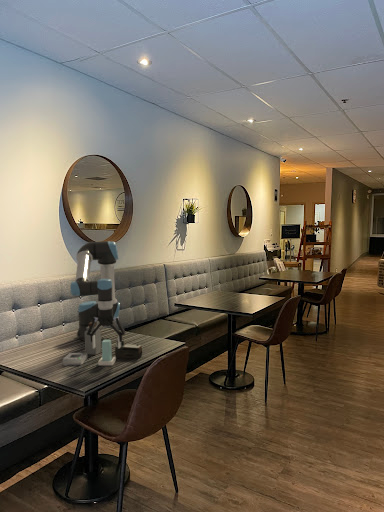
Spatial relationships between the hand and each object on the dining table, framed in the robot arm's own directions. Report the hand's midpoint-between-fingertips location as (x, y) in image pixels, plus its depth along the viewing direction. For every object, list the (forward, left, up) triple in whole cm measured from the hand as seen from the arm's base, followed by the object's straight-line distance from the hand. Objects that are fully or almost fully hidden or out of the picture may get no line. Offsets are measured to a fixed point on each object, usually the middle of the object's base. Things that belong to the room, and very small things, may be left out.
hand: (106, 347), depth 212 cm
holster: (0, 0, -9) cm, 9 cm away
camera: (-11, +9, -9) cm, 17 cm away
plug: (0, 0, -8) cm, 8 cm away
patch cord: (-13, -20, -9) cm, 26 cm away
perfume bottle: (-17, -13, -9) cm, 23 cm away
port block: (-2, -18, -9) cm, 20 cm away
